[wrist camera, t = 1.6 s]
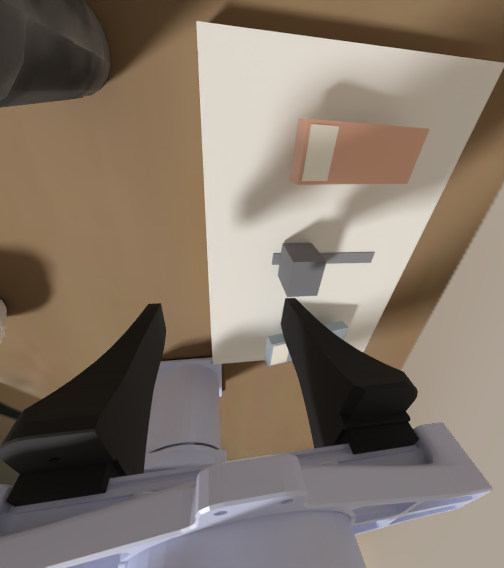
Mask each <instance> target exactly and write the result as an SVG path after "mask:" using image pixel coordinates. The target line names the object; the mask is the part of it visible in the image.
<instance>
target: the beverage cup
mask: <svg viewBox="0 0 504 568" xmlns="http://www.w3.org/2000/svg"><path fill="white" fill-rule="evenodd" d="M109 68H110V54H109V45H108V43H107V40H106V37H105V34H104V31H103V28H102V26H101V24H100V22H99V21H98V19H97V17H96V16H95V14H94V12H93V11H92V9H91V8H90V7H89V6H88V4H87V3H86V1H85V0H0V108H1V107H9V106H18V105H27V104H35V103H44V102H53V101H61V100H69V99H77V98H82V97H84V96H89V95H92V94H94V93H95V92H97V91H98V90H100V89H101V88H102V86H103V85H104V83H105V81H106V80H107V78H108V74H109Z"/></svg>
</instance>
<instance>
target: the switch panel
mask: <svg viewBox="0 0 504 568" xmlns="http://www.w3.org/2000/svg"><path fill="white" fill-rule="evenodd" d="M196 22H197V43H198V64H199V85H200V106H201V127H202V148H203V169H204V190H205V211H206V232H207V253H208V274H209V295H210V316H211V337H212V359H213V364H224V363H236V362H248V361H260V360H265V351H266V344H267V337H268V336H272V335H276V334H281V333H283V332H282V328H281V318H282V313H283V307H284V302H285V298H296V299H297V300H298V301H299V302H300V303H301V304H302V305H303V306H304V307H305V308H306V309H307V310H308V311H309V312H310V313H311V314H312V315H313V316H314V317H315V318H316V319H318V320H319V321H320V322H321V323H322V324H323V325H324V324H329V323H334V322H338V321H343V322H344V323H345V324H346V325H347V326H348V327H349V329H348V331H347V334H346V336H345V339H344V341H345V342H347V343H348V344H350V345H352V346H353V347H355V348H356V349H358V350H360V351H361V352H364V350H365V348H366V346H367V344H368V342H369V340H370V338H371V336H372V334H373V332H374V330H375V328H376V326H377V323H378V321H379V319H380V317H381V315H382V313H383V311H384V309H385V307H386V305H387V303H388V301H389V299H390V297H391V295H392V293H393V291H394V289H395V287H396V285H397V283H398V281H399V279H400V277H401V275H402V273H403V271H404V269H405V267H406V265H407V263H408V261H409V259H410V257H411V255H412V253H413V251H414V249H415V246H416V244H417V242H418V240H419V238H420V236H421V234H422V232H423V230H424V228H425V226H426V224H427V222H428V220H429V218H430V216H431V214H432V212H433V210H434V208H435V206H436V204H437V202H438V200H439V198H440V196H441V194H442V192H443V190H444V188H445V186H446V184H447V182H448V180H449V178H450V176H451V174H452V172H453V169H454V167H455V165H456V163H457V161H458V159H459V157H460V155H461V153H462V151H463V149H464V147H465V145H466V143H467V141H468V139H469V137H470V135H471V133H472V131H473V129H474V127H475V125H476V123H477V121H478V119H479V117H480V115H481V113H482V111H483V109H484V107H485V105H486V103H487V101H488V99H489V97H490V95H491V93H492V90H493V88H494V86H495V84H496V82H497V80H498V78H499V76H500V74H501V72H502V70H503V68H504V63H502V62H494V61H487V60H480V59H472V58H465V57H458V56H450V55H443V54H435V53H428V52H421V51H413V50H406V49H399V48H391V47H384V46H376V45H369V44H362V43H354V42H347V41H340V40H332V39H325V38H317V37H310V36H303V35H295V34H288V33H281V32H273V31H266V30H259V29H251V28H244V27H236V26H229V25H222V24H214V23H207V22H200V21H196ZM299 118H304V119H318V120H330V121H342V122H354V123H366V124H378V125H391V126H403V127H415V128H427V129H429V132H428V134H427V137H426V139H425V142H424V144H423V147H422V149H421V152H420V154H419V157H418V159H417V161H416V164H415V166H414V169H413V171H412V174H411V176H410V179H409V181H408V184H324V185H297V184H295V183H293V182H291V181H290V175H291V168H292V161H293V154H294V147H295V140H296V133H297V126H298V119H299ZM282 243H312V244H313V245H314V247H315V248H316V249H317V250H318V251H319V253H320V254H321V255H322V256H323V258H324V259H325V260H326V261H327V262H326V266H325V269H324V273H323V277H322V280H321V284H320V287H319V291H318V295H317V296H300V297H287V296H286V294H285V291H284V289H283V287H282V284H281V282H280V280H279V277H278V270H279V263H280V256H281V250H282Z"/></svg>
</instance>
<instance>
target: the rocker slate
mask: <svg viewBox="0 0 504 568" xmlns="http://www.w3.org/2000/svg"><path fill="white" fill-rule="evenodd" d="M324 326H326V327H327V328H328V329H329V330H331V331H332V332H333V333H334V334H336V335H337V336H338V337H340V338H341V339H343V340H344V339H345V336H346V334H347V331H348V329H349V327H348V326H347V325H346V324H345V323H344V322H343V321H338V322H334V323H329V324H324ZM265 361H266V363H267V365H268V367H269V366H273V365H277V364H281V363H285V362H289V361H292V359H291V356H290V354H289V351H288V348H287V346H286V343H285V340H284V336H283V333H281V334H276V335H272V336H268V337H267V344H266V351H265Z"/></svg>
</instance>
